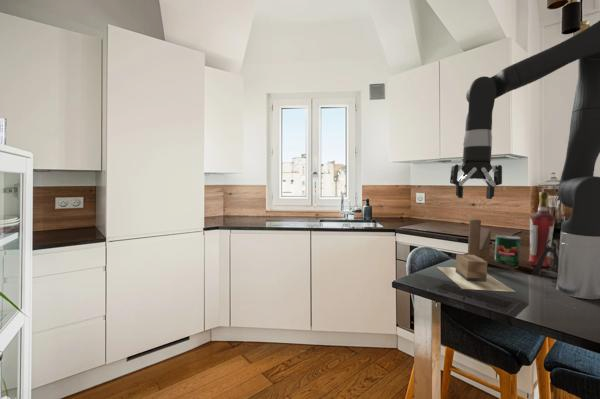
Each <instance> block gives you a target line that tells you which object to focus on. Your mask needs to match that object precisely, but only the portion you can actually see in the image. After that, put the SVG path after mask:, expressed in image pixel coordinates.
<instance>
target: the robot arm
mask: <svg viewBox="0 0 600 399" xmlns="http://www.w3.org/2000/svg"><path fill="white" fill-rule="evenodd" d="M576 61H577V62H578V66H577V67H578V68H577V69H578V71H577V72H578V73H577V74H578V76H577V82H576V88H575V94H574V97H573V98H574V100H573V105H572V110H571V117H570V118H571V119H570V125H569V136H568V139H567V142H568V143H567V148H566V155H565V161H564V164H563V169H562V171H561V175H560V179H559V183H558V188H557V197H558V200H559V201H560V203H561V204H562V205H563V206H565V207H567V208H570V209H571V208H572V211H571V215H570V217H569V218H568V219H567V220H564V221H562V222H561V225H560V237H559V238H560V239H559V248H558V249H559V250H558V253H559V262H558V272H557V274H558V275H557V279H556V290H557V291H559V292H561V293H563V294H565V295H566V296H569V297H573V298H579V299H582V300H583V299H586V300H600V176H596V175H594V174H595V167H596V162H597V160H598V157H599V155H600V19H599V20H598V21H597V22H595V23H593V24H592V25H590V26H589V27H587V28H585V29H583V30H582V31H580V32H578V33H576V34H574V35H573V36H570V37H569V38H567V39H565V40H563V41H562V42H560V43H558V44H556V45H554V46H551V47H549V48H547V49H544V50H542V51H540V52H537V53H536V54H534V55H531V56H529V57H527V58H525V59H522V60H520V61H517V62H515V63H513V64H511V65H508V66H506V67H505V68H503V69H501V70H500V71H499V72H498V73H496V74H495V75H493V76H491V77H489V76H478V77H477V78H475V79H474V80H473V81H472V82H471V84H470V85H469V87H468V89H467V90H466V94H465V99H466V101H467V102H468V112H467V115H466V118H465V133H464V136H463V144H462V145H463V149H462V150H463V151H462V153H463V154H462V164H461V165H459V164H452V165H451V170H450V178H449V184H452V185H454V186H455V195H456V197H457V198H458V199H463V198H464V196H463V195H464V186H463V185H464V184H465V183H466V182H467V181H468V180H469V179H471V180H475V179H476V180H482V181H483V182H484V183H486V185H487V186H486V193H485V194H486V196H485V198H486V199H487V200H491V199H493V198H494V196H495V187H497V186H499V185H502V184H503V166H502V165H501V164H496V165H492V164H491V161H492V146H493V131H492V130H493V111H494V105H495V101H496V100H495V99H498V98H499V97H501V96H503V95H505V94H507V93H509V92H512V91H514V90H518V89H520V88H522V87H525V86H528V85H530V84H531V83H533V82H536V81H538V80H540V79H542V78H544V77H547V76H548V75H550V74H551V73H554V72H556V71H558V70H559V69H561V68H563V67H565V66H567V65H569V64H571V63H574V62H576ZM461 171H462V172H463V174H461V176H460V177H459V178H458V176H459V172H461ZM490 171H492V173H493V176H491V174H490Z"/></svg>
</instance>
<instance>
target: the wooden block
mask: <svg viewBox="0 0 600 399" xmlns="http://www.w3.org/2000/svg"><path fill="white" fill-rule="evenodd" d="M491 234H492V229H491V228H487V227H486V228H485V227H482V219H479V218H478V219H477V218H469V222H468V241H467V242H468V243H467V255H475V256H477V257H479V258H480V259H482V260H484V261H486V262H487V265H489V264H490V247H491V238H492V237H491V236H492V235H491Z"/></svg>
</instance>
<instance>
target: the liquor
mask: <svg viewBox="0 0 600 399" xmlns="http://www.w3.org/2000/svg"><path fill="white" fill-rule="evenodd" d="M538 196H539V203H538V208H537V212H535V213H532V214H530V215H529V257H528V258H529V259H528V260H527V262H528V263H529V264H530V265H531V266H533V267H535V266H536V265H537V263H538V261H539V259H540V258H541V256H542V254H543V252H544V251H545V244H546V242H547V241H548V240H549V239H551V241H550V242H549V243H547V244H548V245H549V247H551V248H552V242H553V234H554V229H555V221H556V220H555V219H556V216H554V215H553V214H551V213H549V212H548V210H549V209H548V199H549V192H548V191H540V192H539V193H538ZM550 257H551V252H548V253H547V256H546V258H545V260H544V263H543V265H542V267H541V269H542V268H544V269H545V268H548V267H549V266H551V262H550V259H551V258H550Z"/></svg>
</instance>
